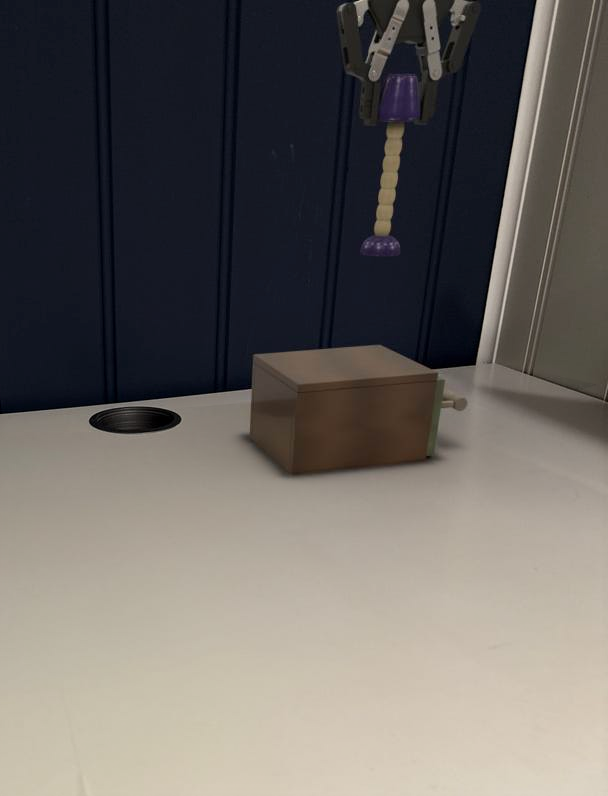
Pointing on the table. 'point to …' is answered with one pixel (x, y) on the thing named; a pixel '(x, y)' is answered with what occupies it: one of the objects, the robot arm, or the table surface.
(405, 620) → the table surface
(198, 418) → the table surface
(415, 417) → the cabinet
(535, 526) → the table surface
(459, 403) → the drawer
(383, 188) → the toy lamp
